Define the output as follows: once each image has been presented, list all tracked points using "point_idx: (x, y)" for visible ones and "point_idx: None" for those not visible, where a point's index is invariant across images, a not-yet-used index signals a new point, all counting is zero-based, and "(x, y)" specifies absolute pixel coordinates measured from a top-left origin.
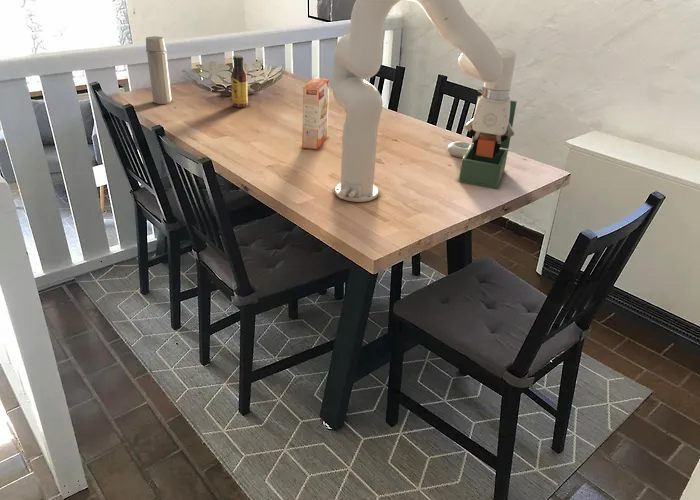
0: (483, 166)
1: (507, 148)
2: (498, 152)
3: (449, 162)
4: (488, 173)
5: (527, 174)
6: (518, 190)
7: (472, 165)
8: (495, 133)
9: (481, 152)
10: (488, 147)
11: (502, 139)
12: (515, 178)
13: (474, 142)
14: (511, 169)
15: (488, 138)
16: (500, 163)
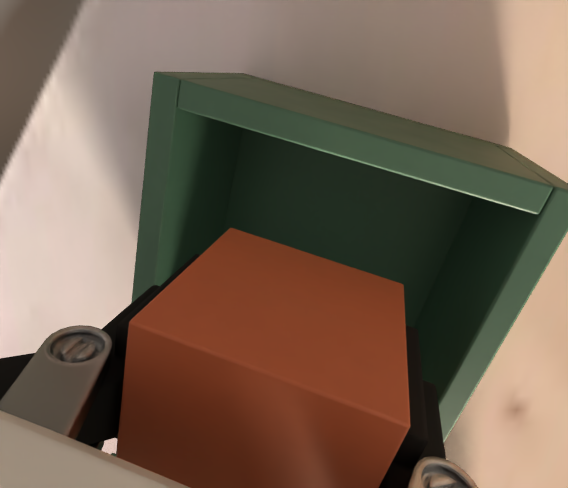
0: (332, 117)
1: (115, 455)
2: (154, 286)
3: (502, 452)
4: (287, 96)
5: (81, 320)
6: (110, 81)
7: (446, 148)
8: (12, 437)
9: (343, 283)
10: (251, 296)
11: (12, 379)
12: (133, 262)
13: (436, 441)
14: None
15: (229, 460)
16: (159, 149)
